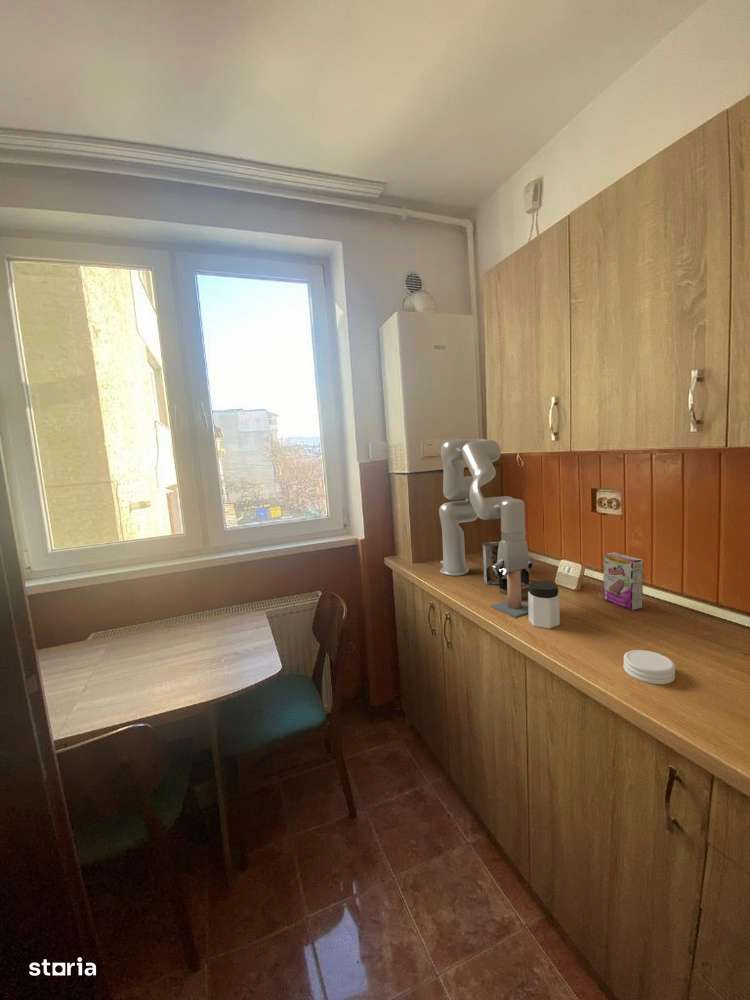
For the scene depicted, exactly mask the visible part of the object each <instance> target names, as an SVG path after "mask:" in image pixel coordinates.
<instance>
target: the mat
mask: <svg viewBox="0 0 750 1000" xmlns="http://www.w3.org/2000/svg"><path fill="white" fill-rule="evenodd" d="M521 603H522V607H521V608H520V609H511V608H509V607H508V599H507V600H504V601H501V602H498V603H494V604H490V608H493V609H494V610H497V611H499V612H502V613H504V614H506V615H508V616H510V617H512V618H518V617H522V616H525V615H527V614H528V602H525V601H523V600H521ZM528 615H529V614H528Z"/></svg>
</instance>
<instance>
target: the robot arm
mask: <svg viewBox="0 0 750 1000" xmlns="http://www.w3.org/2000/svg"><path fill="white" fill-rule="evenodd" d="M500 457H501V447H500V445H499V444H498V442H497V441H495V440H494V439H493V440H492V439H487V438H467V439H465V438H464V439H463V438H462V439H461V438H460V439H451V440H446V441H445V442H443V444H442V445H441V447H440V458H441V459H440V460H441V462H442V466H443V475H442V476H443V479H442V480H443V484H442V491H443V496H444V498H446V499H447V500H451V501H449V502H444V503H443V504H441V505H440V506H439V509H438V515H439V520H440V524H441V525H440V526H441V535H442V537H441V538H442V556H443V557H442V560H440V563H439V564H441V565H442V567H441V568H440V573H441V574H442V575H445V576H453V577H455V576H456V577H457V576H464V575H467V574H469V572H470V569H469V567H467V566H466V553H465V551H466V550H465V547H466V545H465V533H464V530H463V528H462V527H461V526H460V525H459V524H460V523H467V522H468V523H469V522H474V521H476V520H477V519H481V520H484V521H488V520H497V519H500V535H501V536H500V537H501V540H499V541H498V542H499V547H498V557H497V563H496V564H495V565H494V566H493V570H494V571H495V574H496V575H497V577H499V584H498V588H499V589H500V588H501V589H503V590H507V578H506V576H507V574H508V572H512V571H516V570H520V571H521V582H522V583H524V584H529V582H530V573H531V569H532V567H533V564H534V560H535V558H534V557H533V556H529V548H528V542H527V540H526V535H527V531H526V522H525V521H526V517H525V516H526V514H525V513H526V510H525V509H526V507H525V502H524V500H522V499H519V498H513V497H512V496H507V495H503V496H492V497H491V496H490V497H484V496H483V493H482V491H481V487H483V486H484V485H486V484H488V483H490V482H491V481H492V480H493V479H494V478H495V477H496V475H497V471H496V468H495V466H494V464H493V462H496V461H498V460H500ZM461 461H465V463H466V466H467V468H468V470H469V472H470V475H471V476H469V475H468V476H464V473H465V472H464V470H465V468H464V465H463V463H462V462H461ZM463 499H465V500H463ZM452 500H456V501H452ZM499 569H500V570H499ZM503 571H504V573H503ZM502 573H503V574H502Z"/></svg>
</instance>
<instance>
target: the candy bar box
mask: <svg viewBox="0 0 750 1000" xmlns="http://www.w3.org/2000/svg"><path fill="white" fill-rule="evenodd" d="M602 556H603V572H602V573H603V581H602V582H603V587H602V588H603V594H602V595H603V596H602V597H603V598H602V599H603V600H604V601H607V602H609V603H612V604H614V605H617V606H619V607H622V608H625V609H627V610H629V611H637V610H639V609H640V608H641V609H643V599H644V598H643V592H644V587H643V585H644V559H641V558H639V557H634V556H629V555H626V554H623V553H619V552H615V551H613V552H607V553H606V552H605V553H604V554H602ZM636 609H637V610H636Z"/></svg>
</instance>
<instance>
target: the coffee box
mask: <svg viewBox="0 0 750 1000" xmlns="http://www.w3.org/2000/svg"><path fill="white" fill-rule="evenodd" d="M499 542H500V541H486V542H485V541H484V542H482V559H483V561H482V562H483V581H484V583H485V584H486V585H499V577H497V575H496V574H495V571H494V570H493V566H494V565H495V564H496V563H497V557H498V547H499ZM499 570H500V569H499ZM503 573H504V571H503ZM503 573H502V574H503ZM506 578H507V576H506Z"/></svg>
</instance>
